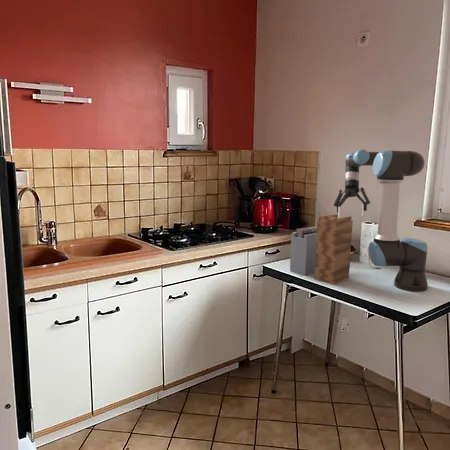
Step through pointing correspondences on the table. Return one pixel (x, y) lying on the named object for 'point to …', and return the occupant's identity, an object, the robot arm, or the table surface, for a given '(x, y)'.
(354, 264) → the table surface
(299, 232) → the grey bar
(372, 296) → the table surface
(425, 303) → the table surface
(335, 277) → the stand
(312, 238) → the block
